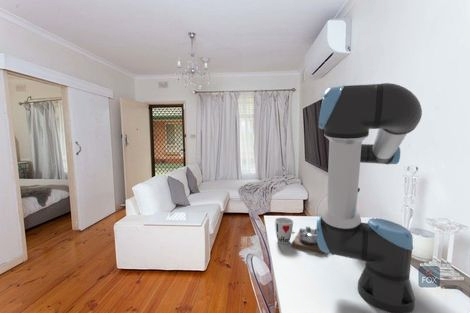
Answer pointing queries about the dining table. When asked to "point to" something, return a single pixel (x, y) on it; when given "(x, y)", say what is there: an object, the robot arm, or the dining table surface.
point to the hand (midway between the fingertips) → (342, 221)
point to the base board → (305, 246)
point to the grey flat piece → (308, 236)
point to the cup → (283, 229)
